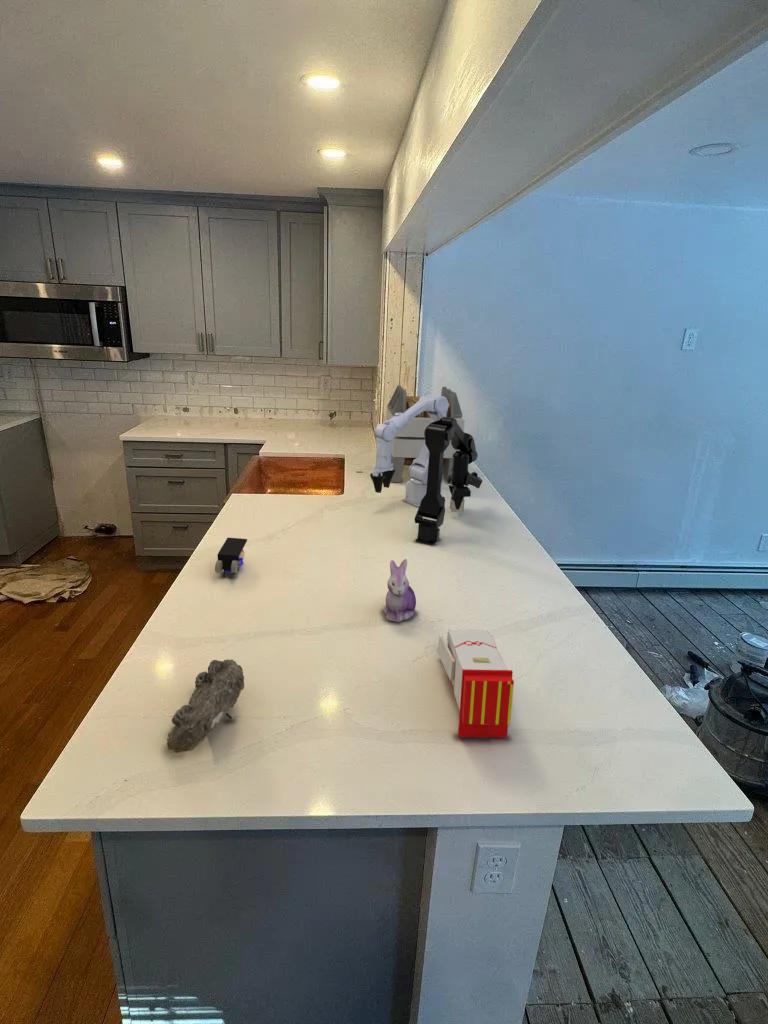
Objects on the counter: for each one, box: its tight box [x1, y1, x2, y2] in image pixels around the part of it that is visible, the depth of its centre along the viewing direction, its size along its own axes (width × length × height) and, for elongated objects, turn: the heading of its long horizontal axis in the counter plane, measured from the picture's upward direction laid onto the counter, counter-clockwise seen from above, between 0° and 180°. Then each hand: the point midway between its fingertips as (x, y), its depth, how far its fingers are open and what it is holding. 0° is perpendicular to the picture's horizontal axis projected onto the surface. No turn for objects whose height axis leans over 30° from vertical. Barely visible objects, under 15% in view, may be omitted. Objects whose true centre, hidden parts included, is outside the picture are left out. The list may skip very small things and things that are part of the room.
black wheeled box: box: [214, 537, 248, 578], centre depth 166 cm, size 7×8×15 cm
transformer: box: [385, 384, 465, 484], centre depth 268 cm, size 34×33×41 cm
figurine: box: [384, 558, 417, 623], centre depth 145 cm, size 9×10×15 cm
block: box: [449, 496, 465, 513], centre depth 215 cm, size 5×4×5 cm
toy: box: [437, 628, 515, 738], centre depth 117 cm, size 12×13×30 cm
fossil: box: [166, 658, 245, 754], centre depth 106 cm, size 22×10×15 cm
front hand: (456, 507), depth 216 cm, fingers closed on block, 4 cm apart
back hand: (382, 489), depth 220 cm, fingers open, 7 cm apart
